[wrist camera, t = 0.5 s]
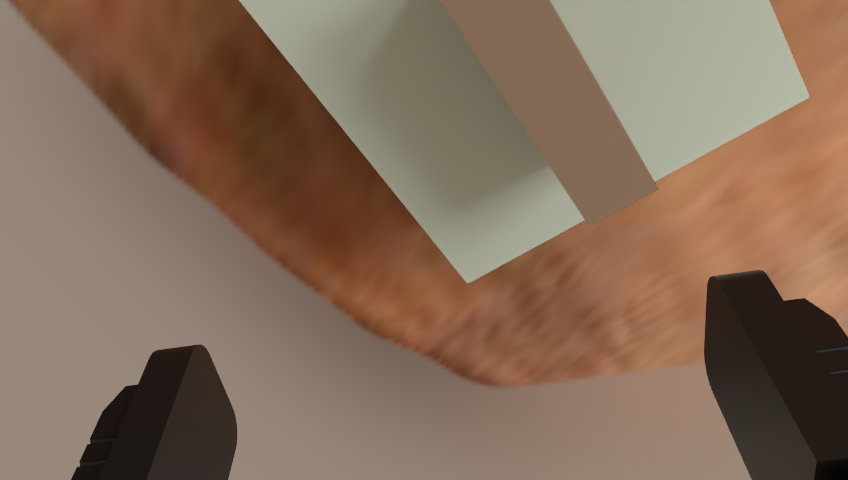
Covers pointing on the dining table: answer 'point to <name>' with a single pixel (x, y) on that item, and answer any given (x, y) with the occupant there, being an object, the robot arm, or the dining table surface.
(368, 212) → the dining table surface
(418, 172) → the lid
